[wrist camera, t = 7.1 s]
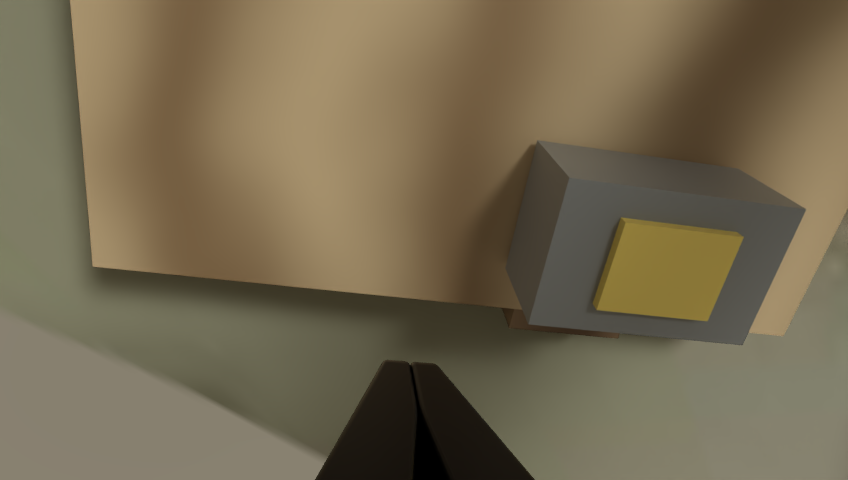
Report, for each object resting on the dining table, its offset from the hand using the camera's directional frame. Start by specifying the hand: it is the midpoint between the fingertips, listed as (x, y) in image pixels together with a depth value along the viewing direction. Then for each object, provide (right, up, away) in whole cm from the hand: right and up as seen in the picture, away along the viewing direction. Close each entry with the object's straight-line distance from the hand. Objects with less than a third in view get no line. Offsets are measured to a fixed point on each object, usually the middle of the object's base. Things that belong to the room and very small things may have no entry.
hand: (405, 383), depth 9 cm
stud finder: (+6, +3, +8) cm, 10 cm away
